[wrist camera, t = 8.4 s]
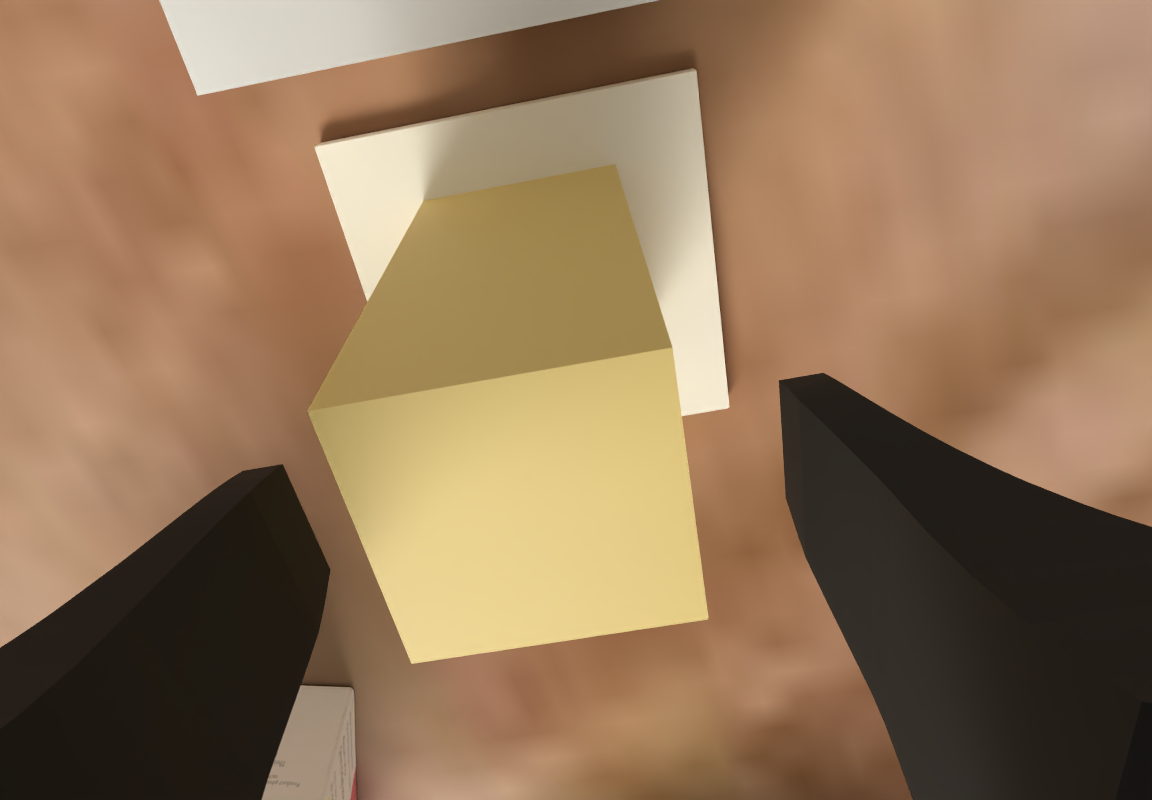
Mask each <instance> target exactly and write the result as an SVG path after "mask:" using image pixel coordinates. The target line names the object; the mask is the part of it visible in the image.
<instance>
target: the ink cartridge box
mask: <svg viewBox="0 0 1152 800" xmlns="http://www.w3.org/2000/svg"><path fill="white" fill-rule="evenodd" d="M262 800H357V795H356V748H355V707H354V690H353V689H352V688H351V687H331V686H305V685H301V686H300V689H299V692H298V694H297V697H296V700H295V703H294V706H293V709H292V711H291V714H290V717H289V720H288V723H287V726H286V729H285V731H284V734H283V737H282V740H281V743H280V746H279V748H278V751H277V754H276V757H275V760H274V763H273V766H272V768H271V771H270V774H269V777H268V780H267V784H266V787H265V790H264V794H263V797H262Z"/></svg>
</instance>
